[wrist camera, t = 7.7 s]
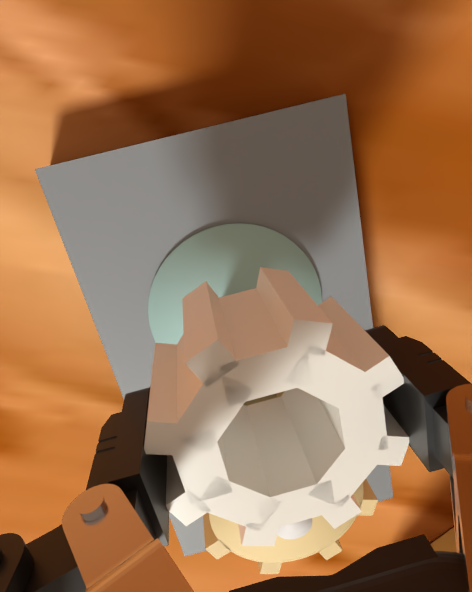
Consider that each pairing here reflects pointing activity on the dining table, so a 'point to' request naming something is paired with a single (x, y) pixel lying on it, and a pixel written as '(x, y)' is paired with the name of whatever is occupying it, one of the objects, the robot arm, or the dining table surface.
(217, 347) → the nylon gear
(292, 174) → the gear board
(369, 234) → the dining table surface
